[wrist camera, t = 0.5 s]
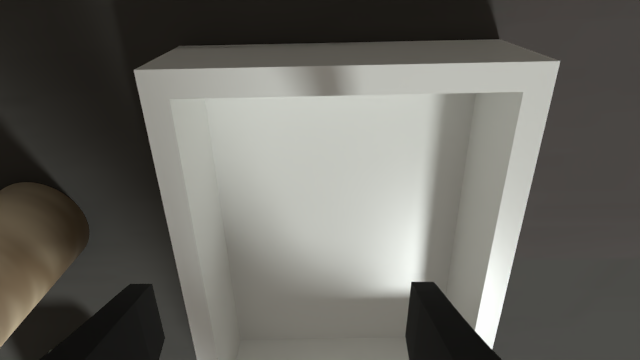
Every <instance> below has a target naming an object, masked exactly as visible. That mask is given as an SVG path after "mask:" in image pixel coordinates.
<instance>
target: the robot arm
mask: <svg viewBox="0 0 640 360" xmlns="http://www.w3.org/2000/svg"><path fill="white" fill-rule="evenodd" d="M405 338H406V344H407V350H408V356H409V360H502V359H501V358H500V357H499V356H498V355H497V354H496V353H495V352H494V351H493V350H492V349H491V348H490V347H489V346H488V345H487V344H486V343H485V341H484V340H483V339H482V338H481V337H480V336H479V335H478V334H477V333H476V331H475V330H474V329H473V328H472V327H471V326H470V325H469V324H468V322H467V321H466V320H465V319H464V318H463V317H462V315H461V314H460V313H459V312H458V311H457V309H456V308H455V307H454V306H453V305H452V303H451V302H450V301H449V300H448V298H447V297H446V296H445V295H444V293H443V292H442V291H441V290H440V288H439V287H438V286H437V285H436V284H435V283H434V282H411V290H410V298H409V307H408V316H407V325H406V333H405ZM164 339H165V336H164V332H163V328H162V324H161V320H160V316H159V311H158V307H157V303H156V299H155V295H154V291H153V286H152V284H130V285H128V286H127V287H126V288H125V289H123V290H122V291H121V292H120V293H119V294H118V295H116V296H115V297H114V298H113V299H112V300H111V301H109V302H108V303H107V304H106V305H105V306H104V307H103V308H101V309H100V310H99V311H98V312H97V313H96V314H95V315H93V316H92V317H91V318H90V319H89V320H87V321H86V322H85V323H84V324H83V325H82V326H80V327H79V328H78V329H77V330H76V331H75V332H73V333H72V334H71V335H70V336H69V337H67V338H66V339H65V340H64V341H63V342H61V343H60V344H59V345H58V346H56V347H55V348H54V349H52V350H51V351H50V352H49V353H47V354H46V355H45V356H44V357H42V358H41V359H40V360H159V357H160V353H161V350H162V346H163V343H164Z"/></svg>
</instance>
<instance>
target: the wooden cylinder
mask: <svg viewBox="0 0 640 360" xmlns="http://www.w3.org/2000/svg"><path fill="white" fill-rule="evenodd" d="M88 239H89V226H88V222H87V220H86V217H85V216H84V214H83V212H82V211H81V209H80V208H79V207H78V206H77V204H76V203H75V202H74V201H72V200H71V199H70V198H69V197H68V196H66V195H65V194H63V193H62V192H60V191H58V190H56V189H54V188H52V187H49V186H47V185H43V184H39V183H33V182H20V183H15V184H12V185H9V186H7V187H5V188H3V189H2V190H0V347H1V346H2V345H3V344H4V342H5V341H6V340H7V339H8V338H9V337H10V335H11V334H12V333H13V332H14V331H15V329H16V328H17V327H18V326H19V325H20V324H21V322H22V321H23V320H24V319H25V318H26V317H27V315H28V314H29V313H30V312H31V311H32V309H33V308H34V307H35V306H36V305H37V304H38V302H39V301H40V300H41V299H42V298H43V297H44V295H45V294H46V293H47V292H48V291H49V289H50V288H51V287H52V286H53V285H54V284H55V282H56V281H57V280H58V279H59V278H60V277H61V275H62V274H63V273H64V272H65V271H66V269H67V268H68V267H69V266H70V265H71V264H72V262H73V261H74V260H75V259H76V258H77V257H78V255H79V254H80V253H81V252H82V251H83V249H84V248H85V247H86V245H87V243H88Z"/></svg>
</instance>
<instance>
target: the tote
mask: <svg viewBox="0 0 640 360" xmlns="http://www.w3.org/2000/svg"><path fill="white" fill-rule="evenodd" d="M559 64H560V61H559V60H556V59H553V58H550V57H548V56H545V55H542V54H539V53H537V52H534V51H531V50H528V49H525V48H523V47H520V46H517V45H514V44H512V43H509V42H506V41H503V40H501V39H489V40H442V41H394V42H347V43H300V44H253V45H206V46H178V47H177V48H175V49H173V50H171V51H169V52H167V53H165V54H163V55H161V56H159V57H157V58H156V59H154V60H152V61H150V62H148V63H146V64H144V65H142V66H140V67H138V68H136V69H135V70H134V74H135V79H136V83H137V88H138V92H139V97H140V102H141V106H142V111H143V115H144V120H145V124H146V129H147V133H148V138H149V143H150V147H151V152H152V156H153V161H154V165H155V170H156V175H157V179H158V184H159V188H160V193H161V197H162V202H163V206H164V211H165V216H166V220H167V225H168V229H169V234H170V238H171V243H172V248H173V252H174V257H175V261H176V266H177V270H178V275H179V279H180V284H181V289H182V293H183V298H184V302H185V307H186V311H187V316H188V321H189V325H190V330H191V334H192V339H193V343H194V348H195V352H196V357H197V360H409V356H408V350H407V344H406V338H405V333H406V325H407V316H408V307H409V298H410V290H411V282H434V283H435V284H436V285H437V286H438V287H439V288H440V290H441V291H442V292H443V293H444V295H445V296H446V297H447V298H448V300H449V301H450V302H451V303H452V305H453V306H454V307H455V308H456V309H457V311H458V312H459V313H460V314H461V315H462V317H463V318H464V319H465V320H466V321H467V322H468V324H469V325H470V326H471V327H472V328H473V329H474V330H475V331H476V333H477V334H478V335H479V336H480V337H481V338H482V339H483V340H484V341H485V343H486V344H487V345H488V346H489V347H490V348H491V349H492V348H493V344H494V340H495V336H496V331H497V327H498V323H499V319H500V314H501V310H502V306H503V302H504V297H505V293H506V289H507V285H508V280H509V276H510V272H511V268H512V263H513V259H514V255H515V251H516V246H517V242H518V238H519V234H520V229H521V225H522V221H523V217H524V212H525V208H526V204H527V200H528V196H529V191H530V187H531V183H532V179H533V174H534V170H535V166H536V162H537V157H538V153H539V149H540V145H541V140H542V136H543V132H544V128H545V123H546V119H547V115H548V111H549V106H550V102H551V98H552V94H553V89H554V85H555V81H556V77H557V72H558V68H559Z"/></svg>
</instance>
